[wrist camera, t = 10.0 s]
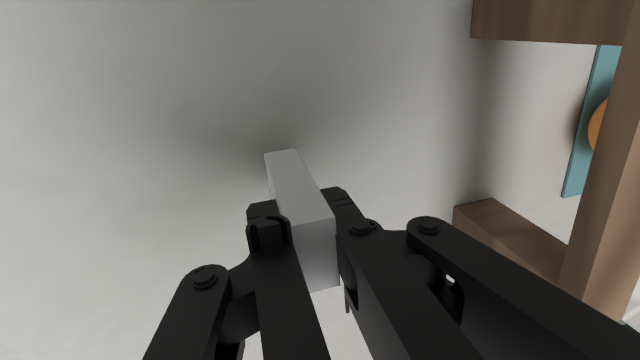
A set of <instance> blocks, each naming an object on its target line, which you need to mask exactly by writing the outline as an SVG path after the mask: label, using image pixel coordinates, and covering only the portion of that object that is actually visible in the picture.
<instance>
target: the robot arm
mask: <svg viewBox="0 0 640 360" xmlns="http://www.w3.org/2000/svg"><path fill="white" fill-rule="evenodd" d="M264 159H265V165H266V171H267V177H268V183H269V189H270V195H271V200H268V201H263V202H258V203H253V204H250V206H249V207H248V209H247V211H246V215H247V223H248V225H247V226H246V230H245V231H246V236H247V241H248V246H249V250H250V254H249V256H248V257H247V259H246V260H245V261H244V262H242V263H241V264H240V265H238V266H236V267H234V268H232V269H230V270H228V271H227V269H226V268H225V267H223V266H221V265H214V264H210V265H205V266H201V267H199V268H196V269H194V270H192V271H191V272H190V273H188V274H187V275H185V277H184V278H183V279H182V281H181V282H180V284H179V286H178V288H177V290H176V292H175V294H174V296H173V298H172V300H171V302H170V304H169V306H168V308H167V310H166V312H165V314H164V316H163V318H162V320H161V322H160V324H159V327H158V329H157V331H156V333H155V335H154V337H153V339H152V341H151V343H150V345H149V347H148V349H147V351H146V353H145V355H144V357H143V359H142V360H242V358H243V353H244V348H245V339H246V338H248V337H250V336H251V335H253V334H255V333H257V332H258V331H260V334H261V342H262V350H263V358H264V360H331V358H330V355H329V352H328V349H327V346H326V343H325V340H324V336H323V333H322V330H321V327H320V324H319V321H318V318H317V315H316V312H315V309H314V306H313V303H312V300H311V297H310V294H309V293H311V292H315V291H319V290H323V289H327V288H331V287H335V286H339V285H340V275H341V278H342V280H343V282H344V294H345V308H346V313H349V306H350V308H351V310H352V313H353V315H354V317H355V319H356V322H357V324H358V326H359V328H360V330H361V333H362V335H363V337H364V339H365V342H366V344H367V346H368V348H369V351H370V353H371V355H372V357H373V360H640V335H638V334H637V333H635V332H633V331H632V330H630V329H628V328H626V327H625V326H623V325H621V324H620V323H618V322H616V321H614V320H613V319H611V318H609V317H608V316H606V315H604V314H602V313H601V312H599V311H597V310H596V309H594V308H592V307H591V306H589V305H587V304H585V303H584V302H582V301H580V300H579V299H577V298H575V297H573V296H572V295H570V294H568V293H567V292H565V291H563V290H561V289H560V288H558V287H556V286H555V285H553V284H551V283H549V282H548V281H546V280H544V279H543V278H541V277H539V276H538V275H536V274H534V273H532V272H531V271H529V270H527V269H526V268H524V267H522V266H520V265H519V264H517V263H515V262H514V261H512V260H510V259H508V258H507V257H505V256H503V255H502V254H500V253H498V252H497V251H495V250H493V249H491V248H490V247H488V246H486V245H485V244H483V243H481V242H479V241H478V240H476V239H474V238H473V237H471V236H469V235H467V234H466V233H464V232H462V231H461V230H459V229H457V228H455V227H454V226H452V225H450V224H449V223H447V222H445V221H443V220H441V219H439V218H435V217H430V216H420V217H416V218H413V219H412V220H410V221H409V222H408V224H407V227H406V230H396V231H392V230H384V229H383V228H382V227H381V225H380V224H378V223H377V222H376V221H374V220H371V219H368V218H365V217H364V216H363V214H362V213H361V212H360V210H359V209H358V207H357V206H356V205H355V203H354V202H353V201H352V199H351V198H350V196H349V195H348V194H347V192H346V191H345V190H343V189H341V188H339V187H337V186H336V187H330V188H325V189H320V190H319V188H318V186H317V185H316V183H315V181H314V179H313V178H312V176H311V174H310V173H309V171H308V169H307V167H306V166H305V164H304V162H303V161H302V159H301V157H300V155H299V154H298V152H297V150H296V148H292V149H286V150H280V151H274V152H268V153H264ZM339 273H340V274H339ZM446 274H447V275H449V276H450V277H451V278H453V279H454V280H455V281H454V283H452V282H451V281H449V280H448V279H446Z"/></svg>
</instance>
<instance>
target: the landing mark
mask: <svg viewBox="0 0 640 360" xmlns="http://www.w3.org/2000/svg"><path fill="white" fill-rule="evenodd" d="M621 49H622V46H611V45H598V47H597V51H596V55H595V59H594V63H593V68H592V72H591V76H590V80H589V84H588V88H587V92H586V96H585V100H584V105H583V109H582V113H581V117H580V121H579V125H578V129H577V133H576V137H575V141H574V146H573V150H572V154H571V158H570V162H569V166H568V170H567V174H566V178H565V183H564V187H563V191H562V195H561V197H562V198H566V197H571V196H575V195H579V194H582V192H583V188H584V185H585V181H586V177H587V174H588V170H589V166H590V163H591V159H592V155H593V152H594V151H593V149H592V147H591V145H590V143H589V139H588V126H589V122H590V120H591V117H592V115H593V114H594V112H595V110H596V109H597V108H598V107H599V105H600V104H601V103H602V102H603V101H604V100H606V99H607V98H608V96H609V93H610V89H611V85H612V82H613V78H614V74H615V71H616V67H617V63H618V60H619V56H620V52H621Z"/></svg>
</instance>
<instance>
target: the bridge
mask: <svg viewBox="0 0 640 360" xmlns="http://www.w3.org/2000/svg"><path fill="white" fill-rule="evenodd" d="M470 38H477V39H496V40H515V41H534V42H553V43H573V44H592V45H611V46H622V49H621V52H620V56H619V60H618V63H617V67H616V71H615V74H614V78H613V82H612V85H611V89H610V93H609V96H608V100H607V104H606V107H605V111H604V115H603V118H602V122H601V126H600V129H599V133H598V137H597V140H596V144H595V148H594V152H593V155H592V159H591V163H590V166H589V170H588V174H587V177H586V181H585V185H584V188H583V192H582V196H581V199H580V203H579V207H578V210H577V214H576V218H575V221H574V225H573V229H572V232H571V236H570V240H569V243H568V245H567V244H565V243H563V242H562V241H560V240H559V239H557V238H555V237H554V236H552V235H551V234H549V233H548V232H546V231H544V230H543V229H541V228H540V227H538V226H536V225H535V224H533V223H532V222H530V221H529V220H527V219H525V218H524V217H522V216H521V215H519V214H517V213H516V212H514V211H513V210H511V209H510V208H508V207H506V206H505V205H503V204H502V203H500V202H499V201H497V200H495V199H494V198H490V199H486V200H481V201H477V202H472V203H468V204H464V205H459V206H455V207H454V214H453V224H452V226H454V227H455V228H457V229H459V230H461V231H462V232H464V233H466V234H467V235H469V236H471V237H473V238H474V239H476V240H478V241H479V242H481V243H483V244H485V245H486V246H488V247H490V248H491V249H493V250H495V251H497V252H498V253H500V254H502V255H503V256H505V257H507V258H508V259H510V260H512V261H514V262H515V263H517V264H519V265H520V266H522V267H524V268H526V269H527V270H529V271H531V272H532V273H534V274H536V275H538V276H539V277H541V278H543V279H544V280H546V281H548V282H549V283H551V284H553V285H555V286H556V287H558V288H560V289H561V290H563V291H565V292H567V293H568V294H570V295H572V296H573V297H575V298H577V299H579V300H580V301H582V302H584V303H585V304H587V305H589V306H591V307H592V308H594V309H596V310H597V311H599V312H601V313H602V314H604V315H606V316H608V317H609V318H611V319H613V320H614V321H619V320H622V318H623V315H624V313H625V310H626V308H627V305H628V303H629V300H630V298H631V295H632V293H633V290H634V288H635V285H636V283H637V280H638V278H639V275H640V0H474V2H473V13H472V23H471V34H470Z"/></svg>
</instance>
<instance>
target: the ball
mask: <svg viewBox="0 0 640 360" xmlns="http://www.w3.org/2000/svg"><path fill="white" fill-rule="evenodd" d="M607 100H608V98H607V99H606V100H604V101H603V102H602V103H601V104H600V105H599V107H598V108H597V109H596V110H595V112H594V114H593V115H592V117H591V120H590V122H589V126H588V139H589V143H590V145H591V147H592V149H593V151H594V148H595V144H596V140H597V137H598V133H599V129H600V126H601V122H602V118H603V115H604V111H605V107H606V104H607Z"/></svg>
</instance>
